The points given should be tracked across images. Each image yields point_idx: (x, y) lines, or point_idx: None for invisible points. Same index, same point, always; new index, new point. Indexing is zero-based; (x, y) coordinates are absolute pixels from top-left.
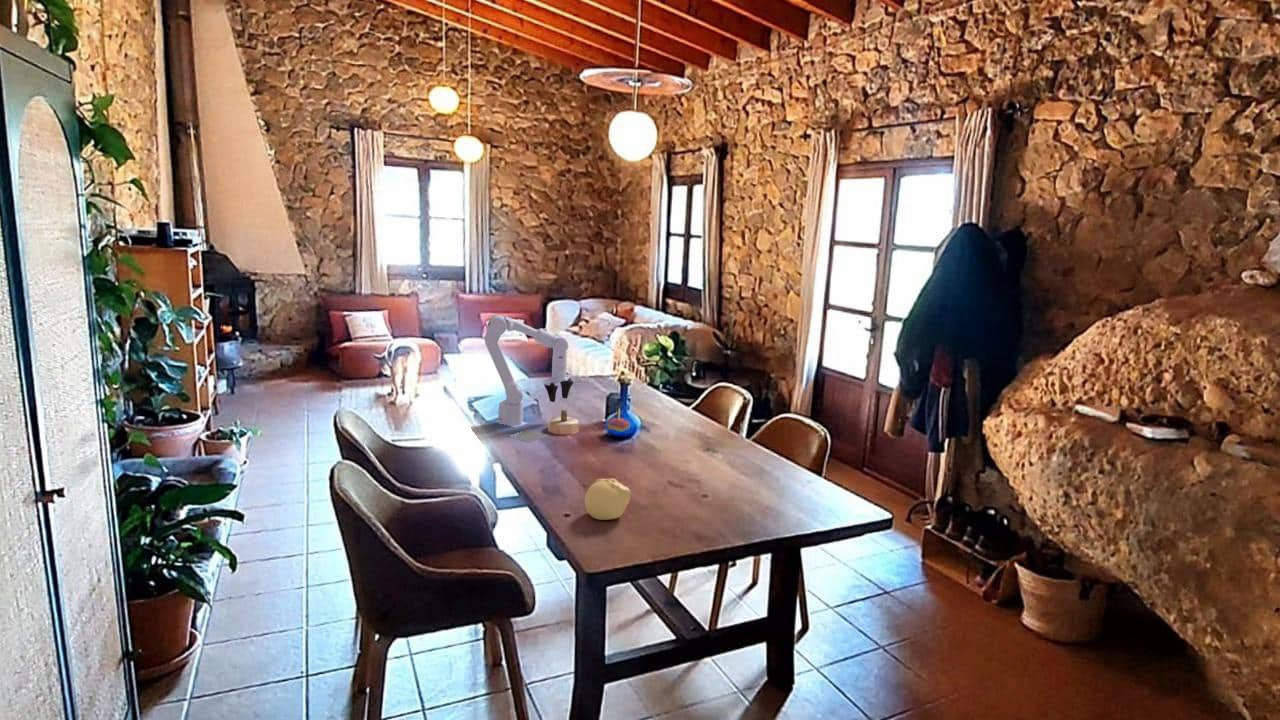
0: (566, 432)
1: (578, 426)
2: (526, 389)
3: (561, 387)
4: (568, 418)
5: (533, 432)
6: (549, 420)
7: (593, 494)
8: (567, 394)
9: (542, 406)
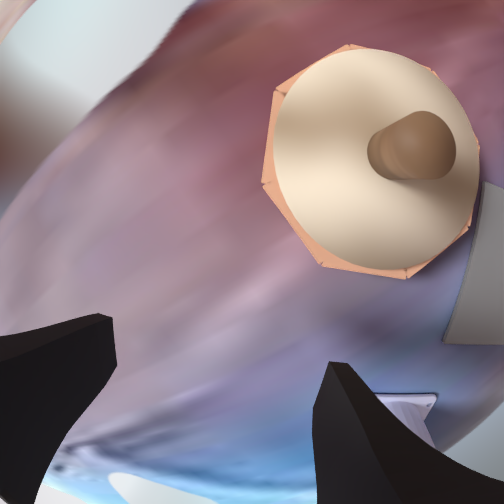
0: None
1: None
2: (48, 470)
3: (55, 449)
4: (314, 153)
5: (480, 283)
6: (404, 273)
7: None
8: (72, 327)
9: (90, 429)
